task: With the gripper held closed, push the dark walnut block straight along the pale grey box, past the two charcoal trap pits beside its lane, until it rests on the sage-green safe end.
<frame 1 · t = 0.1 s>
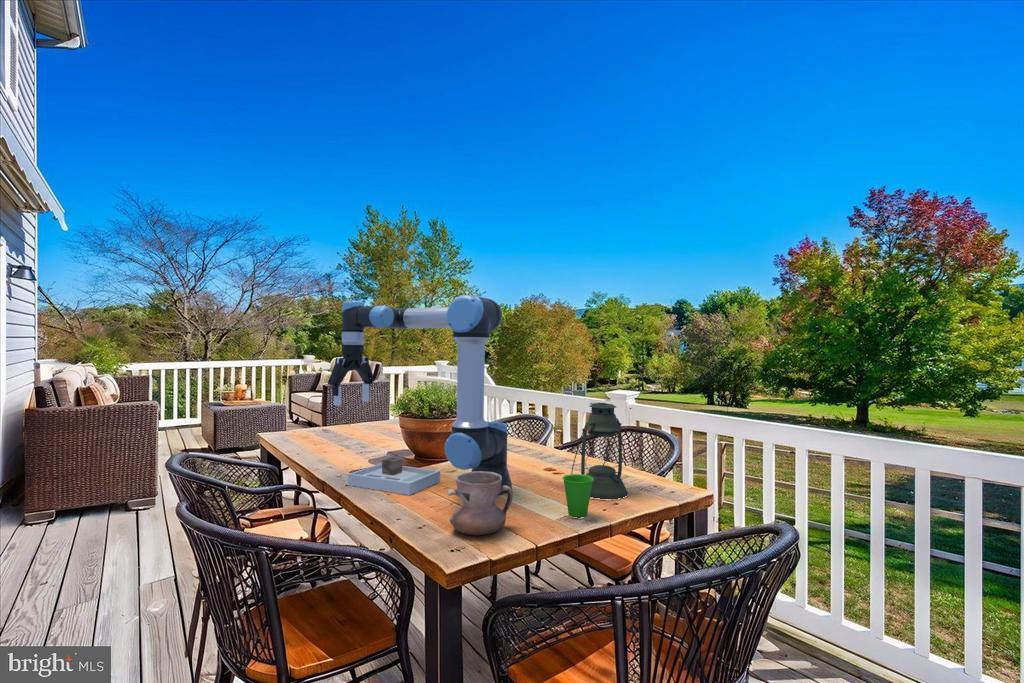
hand: (351, 403, 179), 28 cm above the table, tool pointing down, fingers open, 13 cm apart
walnut block: (392, 473, 181), point 2 cm above the table, touching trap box
lantern: (601, 493, 168), on the table
ceramic jug: (480, 530, 133), on the table
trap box: (394, 483, 176), on the table
cup: (577, 516, 144), on the table
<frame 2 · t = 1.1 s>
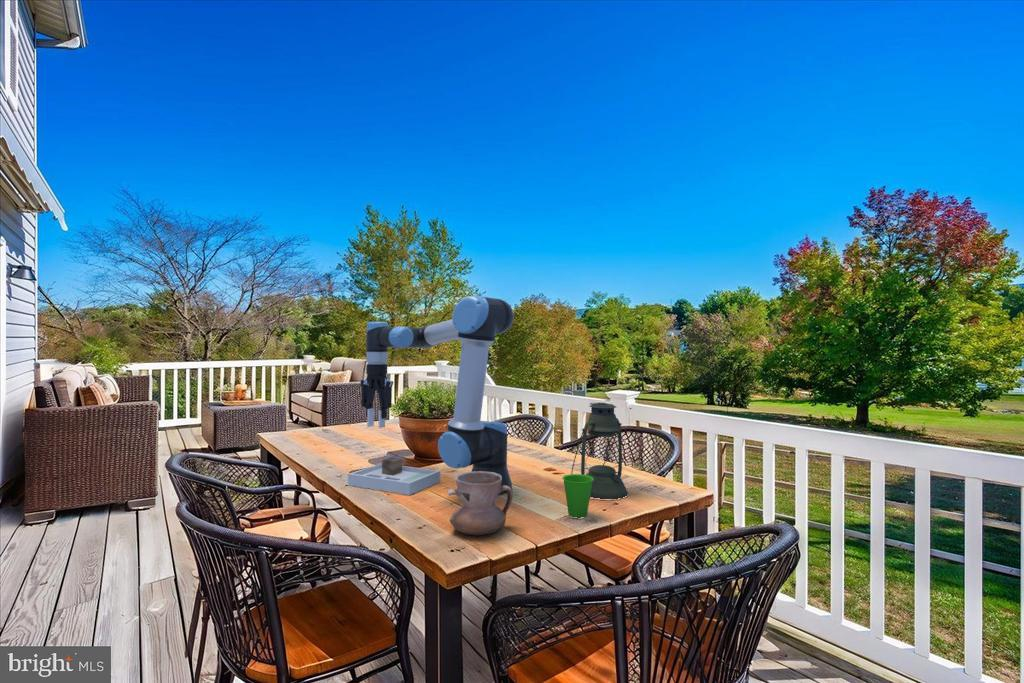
hand: (376, 426, 184), 19 cm above the table, tool pointing down, fingers open, 4 cm apart
nothing on the table moved.
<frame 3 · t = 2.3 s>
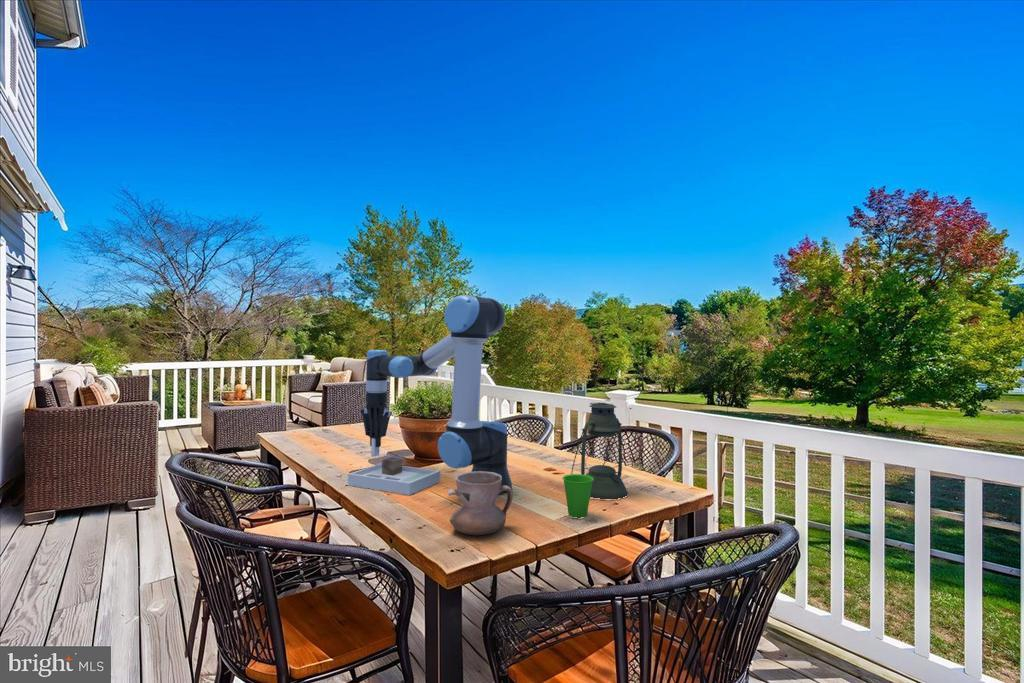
hand: (375, 455, 184), 8 cm above the table, tool pointing down, fingers closed
nothing on the table moved.
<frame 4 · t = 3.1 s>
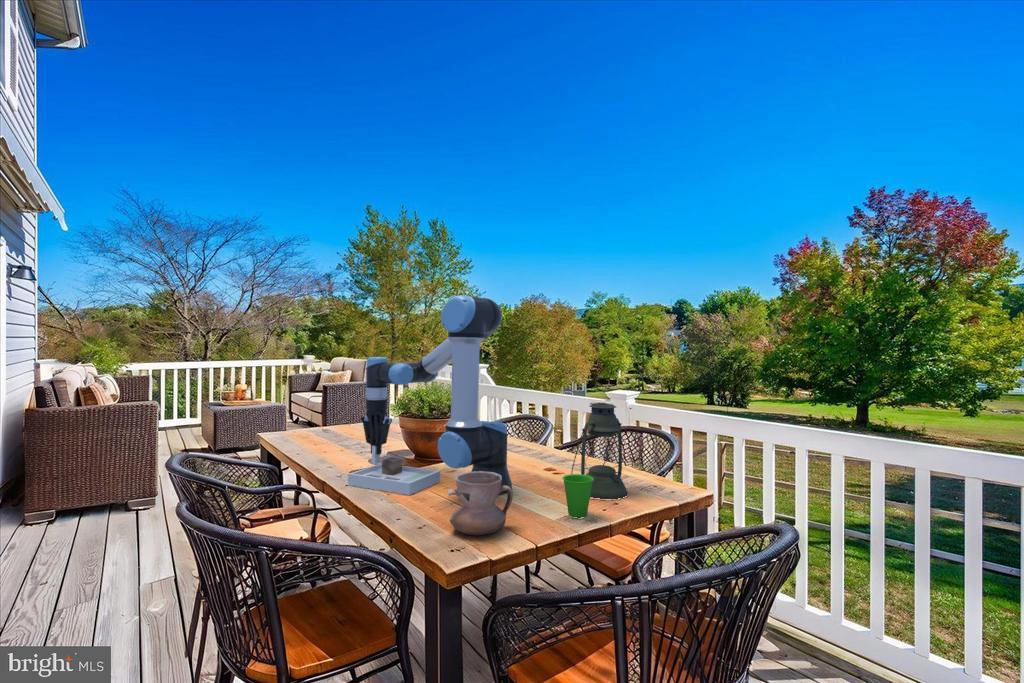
hand: (376, 462, 184), 5 cm above the table, tool pointing down, fingers closed
nothing on the table moved.
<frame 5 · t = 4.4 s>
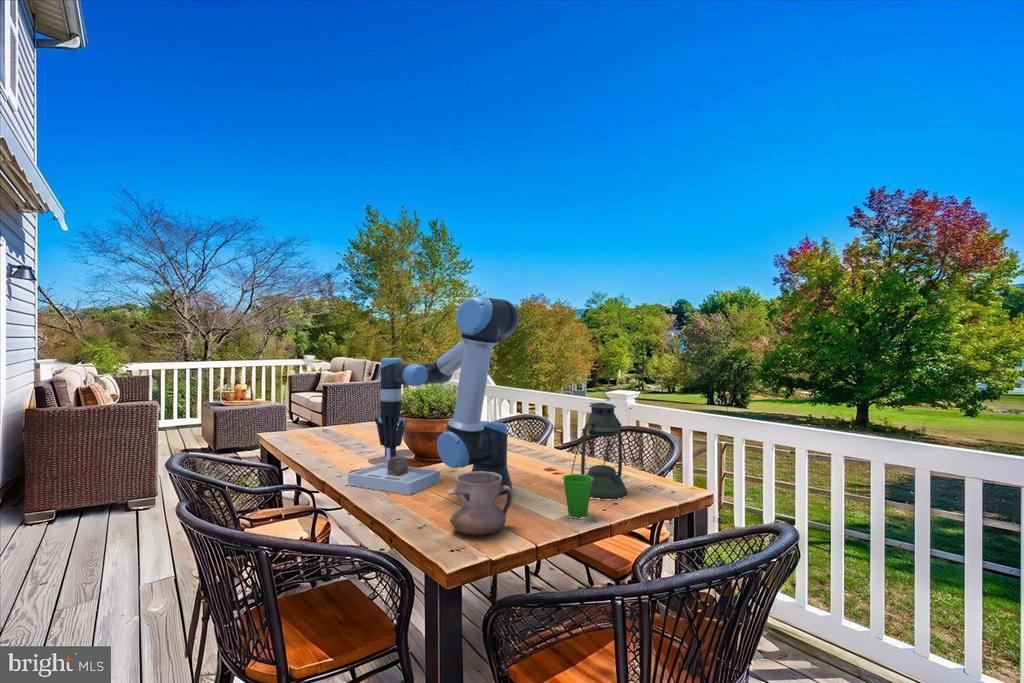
hand: (390, 465, 181), 5 cm above the table, tool pointing down, fingers closed
walnut block: (397, 473, 180), point 3 cm above the table, touching gripper
everything else where it was.
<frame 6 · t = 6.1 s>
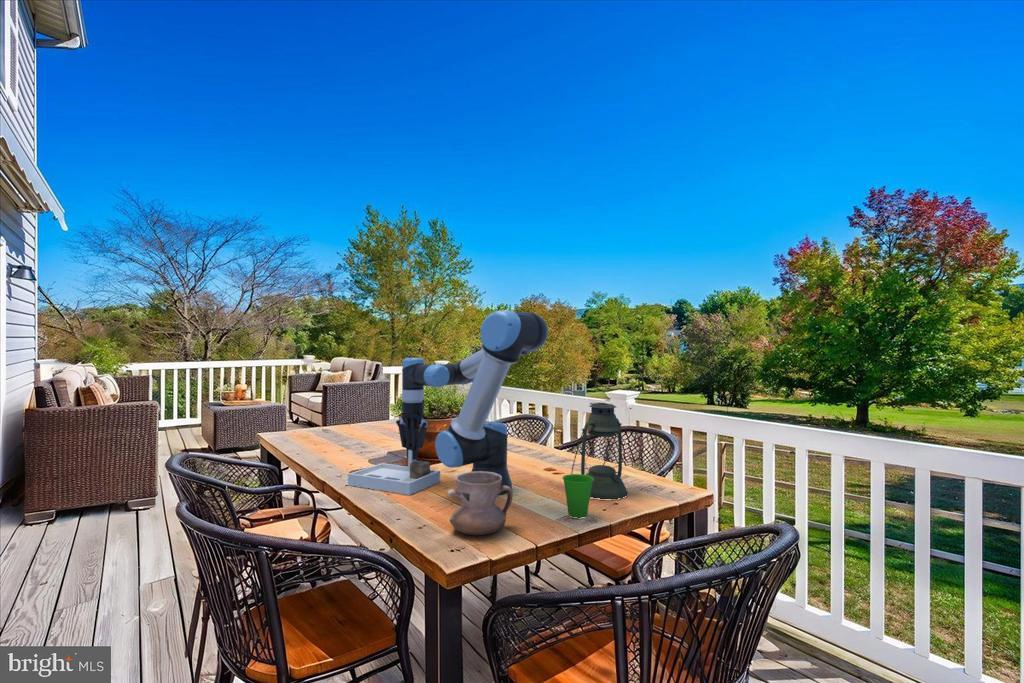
hand: (412, 467, 177), 5 cm above the table, tool pointing down, fingers closed
walnut block: (419, 477, 176), point 2 cm above the table, touching gripper, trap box
everything else where it was.
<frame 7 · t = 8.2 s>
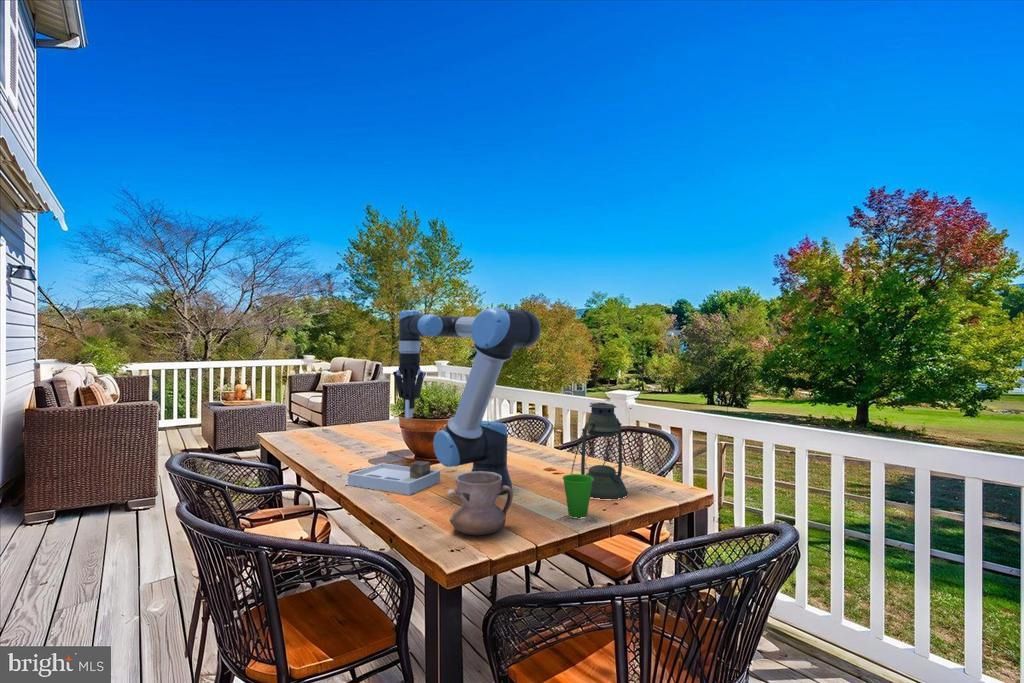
hand: (408, 417, 182), 23 cm above the table, tool pointing down, fingers closed
walnut block: (420, 477, 176), point 2 cm above the table, touching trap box
everything else where it was.
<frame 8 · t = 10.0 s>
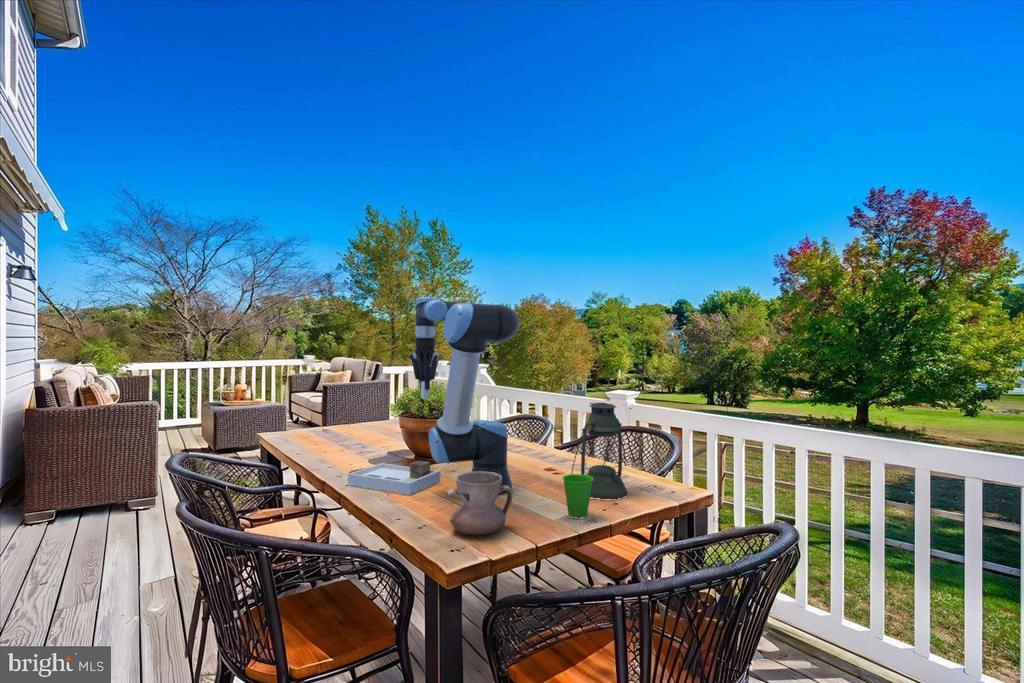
hand: (424, 398, 194), 28 cm above the table, tool pointing down, fingers closed
nothing on the table moved.
at the end: walnut block inside the target area on the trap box (0.7 cm from its centre), point 2.5 cm above the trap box's base; walnut block tilted 0° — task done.
